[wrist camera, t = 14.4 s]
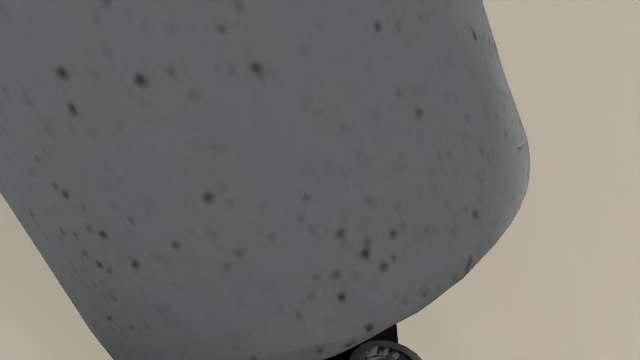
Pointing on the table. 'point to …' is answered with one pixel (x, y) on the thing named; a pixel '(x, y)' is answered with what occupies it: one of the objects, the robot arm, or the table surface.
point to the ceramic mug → (255, 165)
